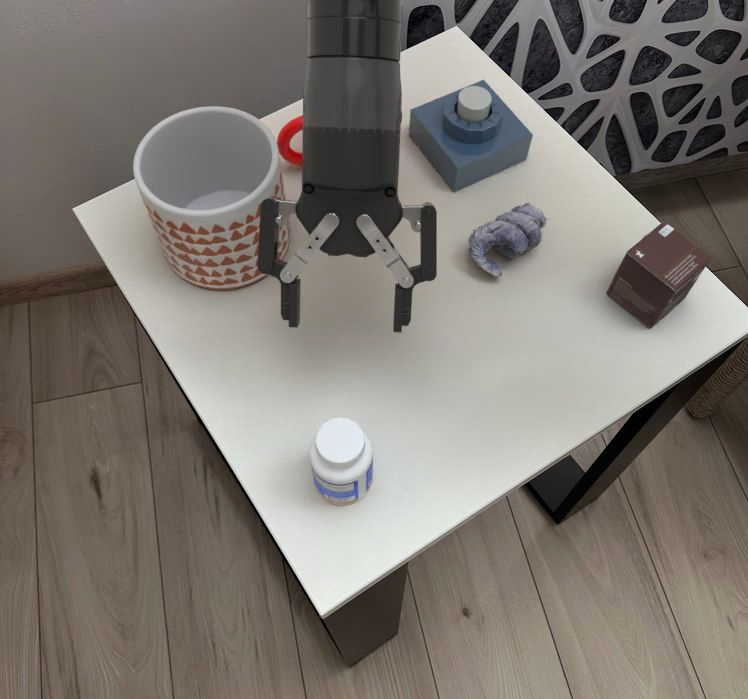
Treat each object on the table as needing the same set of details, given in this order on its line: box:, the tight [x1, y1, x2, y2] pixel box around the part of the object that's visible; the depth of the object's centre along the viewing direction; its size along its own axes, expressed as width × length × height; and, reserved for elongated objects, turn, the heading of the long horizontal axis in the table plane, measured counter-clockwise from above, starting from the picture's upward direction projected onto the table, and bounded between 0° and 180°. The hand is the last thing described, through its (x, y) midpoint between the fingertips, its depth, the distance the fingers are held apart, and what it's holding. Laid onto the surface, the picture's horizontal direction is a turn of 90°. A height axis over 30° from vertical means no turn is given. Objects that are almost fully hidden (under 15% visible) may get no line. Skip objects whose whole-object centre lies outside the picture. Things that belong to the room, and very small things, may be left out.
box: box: [606, 221, 712, 329], centre depth 77 cm, size 6×6×7 cm
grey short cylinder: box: [457, 85, 492, 123], centre depth 84 cm, size 4×4×2 cm
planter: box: [132, 105, 291, 291], centre depth 78 cm, size 14×14×13 cm
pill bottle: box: [308, 416, 374, 506], centre depth 66 cm, size 5×5×10 cm
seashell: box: [468, 202, 548, 279], centre depth 81 cm, size 5×5×10 cm
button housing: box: [408, 79, 534, 193], centre depth 87 cm, size 10×10×6 cm
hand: (346, 328), depth 64 cm, fingers open, 8 cm apart
